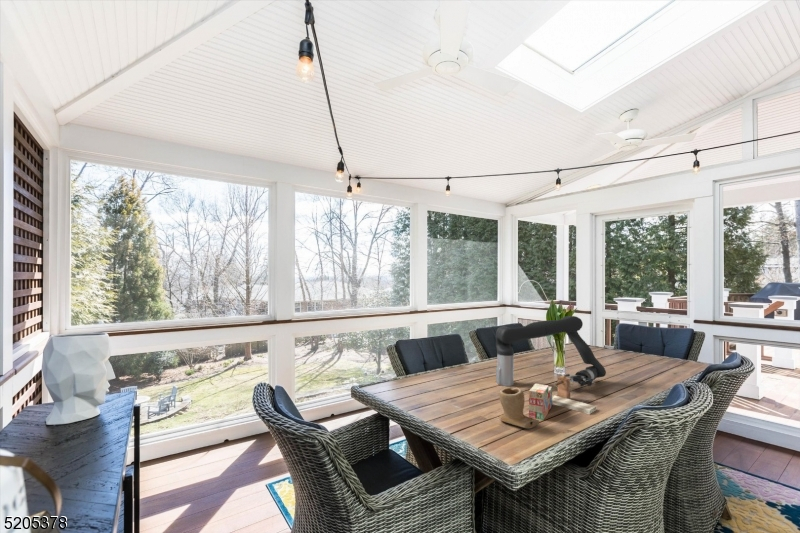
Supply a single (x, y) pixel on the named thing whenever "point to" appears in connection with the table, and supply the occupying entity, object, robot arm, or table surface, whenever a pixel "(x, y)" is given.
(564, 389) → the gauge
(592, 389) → the table surface
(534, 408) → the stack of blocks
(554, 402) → the board
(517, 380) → the table surface
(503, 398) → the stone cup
